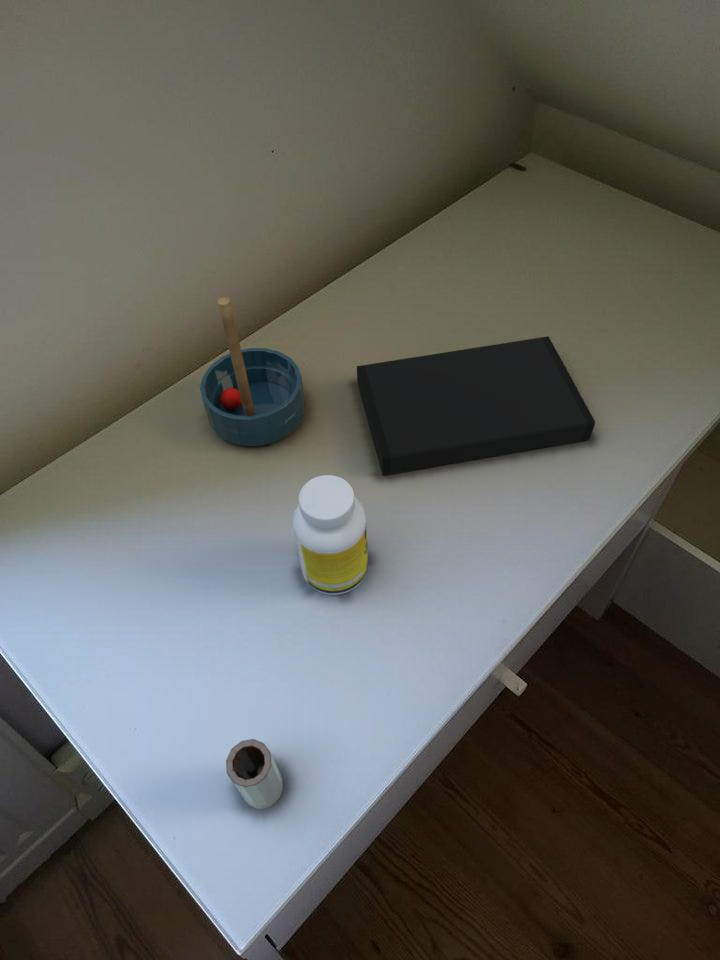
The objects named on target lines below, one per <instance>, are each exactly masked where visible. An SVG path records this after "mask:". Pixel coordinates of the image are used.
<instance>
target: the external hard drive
mask: <svg viewBox="0 0 720 960" xmlns="http://www.w3.org/2000/svg"><path fill="white" fill-rule="evenodd" d="M356 380H357V388H358V391H359V394H360V399H361V401H362V406H363V409H364V413H365V417H366V421H367V424H368V427H369V431H370V435H371V438H372V442H373V446H374V449H375V453H376V456H377V460H378V465H379V468H380V470H381V475H382V476H386V475H393V474H398V473H404V472H409V471H415V470H421V469H428V468H432V467H433V468H434V467H438V466H439V467H440V466H445V465H450V464H456V463H461V462H468V461H474V460H480V459H485V458H491V457H496V456H504V455H508V454H515V453H521V452H526V451H532V450H538V449H543V448H544V449H545V448H548V447H555V446H561V445H567V444H572V443H578V442H585V441H589V440H591V436H592V433H593V431H594V428H595V426H596V421H595V419H594V417H593V415H592V413H591V411H590V409H589V408H588V406H587V404H586V402H585V399H584V397H582V394H581V393H580V391H579V389H578V388H577V386H576V384H575V382H574V380H573V378H572V376H571V374H570V373H569V371H568V369H567V367H566V366H565V363H564V362H563V360H562V358H561V356H560V354H559V353H558V351H557V349H556V347H555V345H554V344H553V341H552V339H551V338H550V336H541V337H535V338H529V339H521V340H516V341H509V342H503V343H496V344H489V345H483V346H476V347H471V348H464V349H459V350H452V351H446V352H438V353H433V354H426V355H419V356H413V357H408V358H401V359H394V360H388V361H382V362H375V363H368V364H362V365H356Z"/></svg>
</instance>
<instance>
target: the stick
mask: <svg viewBox="0 0 720 960" xmlns="http://www.w3.org/2000/svg"><path fill="white" fill-rule="evenodd" d="M217 305H218V309H219V310H218V311H219V314H220V318H221V322H222V326H223V330H224V335H225V339H226V343H227V347H228V351H229V354H230V356H231V360H232V364H233V368H234V373H235V377H236V381H237V385H238V389H239V393H240V398H241V402H242V406H243V410H244V414H245V416H253V415H255V410H254V406H253V401H252V397H251V392H250V388H249V383H248V379H247V374H246V369H245V365H244V360H243V356H242V351H241V350H242V348H241V343H240V338H239V334H238V330H237V325H236V321H235V315H234V311H233V306H232V303H231V299H230V298H229V297H228V296H221V297H220V298H218V299H217Z"/></svg>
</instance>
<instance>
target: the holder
mask: <svg viewBox="0 0 720 960" xmlns="http://www.w3.org/2000/svg"><path fill="white" fill-rule="evenodd" d="M225 766H226V767H225V769H226V774H227V776H228V777H229V779H230V780H231V782H232V783H233V784H234V786H235V788H236V789H237V790H238V792H239V793H240V795H241V797H242V798H243V799H244V801H245V802H246V804H248V805H249V806H250V807H251V808H254V809H258V810H264V809H268V808H270V807H272V806H273V805H275V804H276V803H277V802H278V800H279V799H280V797H281V795H282V792H283V788H284V785H283V783H284V782H283V778H282V775H281V772H280V770H279V768H278V766H277V764H276V762H275V759H274V757H273V755H272V753H271V750H269V747H268V746H267V745H266V743H264V742H262V741H260V740H257V739H254V738H251V739H250V738H249V739H245V740H244V739H243V740H241V741H239V743H237V744H236V745H234V746H233V747H232V748H231V749H230V751H229V753H228V756H227V758H226V760H225Z"/></svg>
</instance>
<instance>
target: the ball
mask: <svg viewBox="0 0 720 960" xmlns="http://www.w3.org/2000/svg"><path fill="white" fill-rule="evenodd" d="M221 403H222V405H223V406H224V407H225V408H227V409H236V408H238V407H239V406H240V404H241V398H240V393H239V391H238V390H236V389H233V388H229V389H226V390H224V391H223V393H222V394H221Z"/></svg>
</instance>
